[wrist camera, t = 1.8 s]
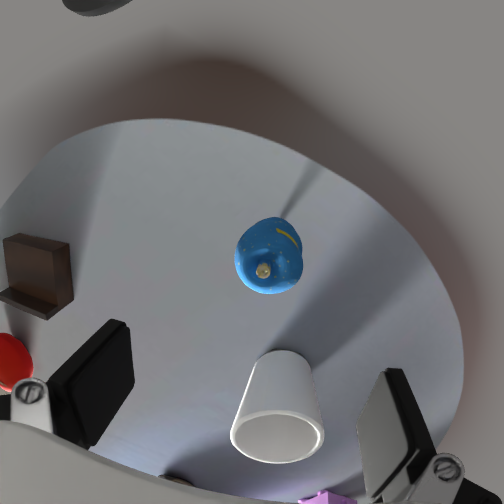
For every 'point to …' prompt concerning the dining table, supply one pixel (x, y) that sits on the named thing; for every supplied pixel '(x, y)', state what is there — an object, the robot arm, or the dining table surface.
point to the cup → (279, 411)
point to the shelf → (37, 275)
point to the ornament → (269, 256)
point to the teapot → (328, 499)
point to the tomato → (13, 361)
